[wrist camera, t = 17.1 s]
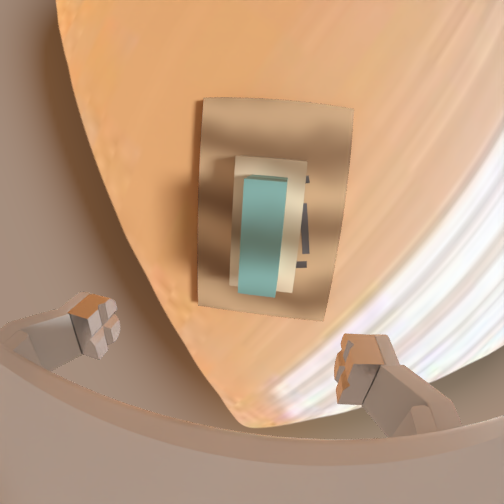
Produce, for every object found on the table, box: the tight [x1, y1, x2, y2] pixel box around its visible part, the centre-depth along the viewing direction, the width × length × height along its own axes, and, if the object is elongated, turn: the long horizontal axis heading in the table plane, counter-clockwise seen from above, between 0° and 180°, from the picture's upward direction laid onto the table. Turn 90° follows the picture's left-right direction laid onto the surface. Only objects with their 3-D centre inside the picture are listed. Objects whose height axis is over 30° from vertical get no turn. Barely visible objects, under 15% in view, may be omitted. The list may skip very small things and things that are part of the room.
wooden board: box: [198, 97, 354, 321], centre depth 27 cm, size 22×14×1 cm, turn 176°
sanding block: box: [229, 155, 307, 298], centre depth 24 cm, size 12×6×6 cm, turn 176°
